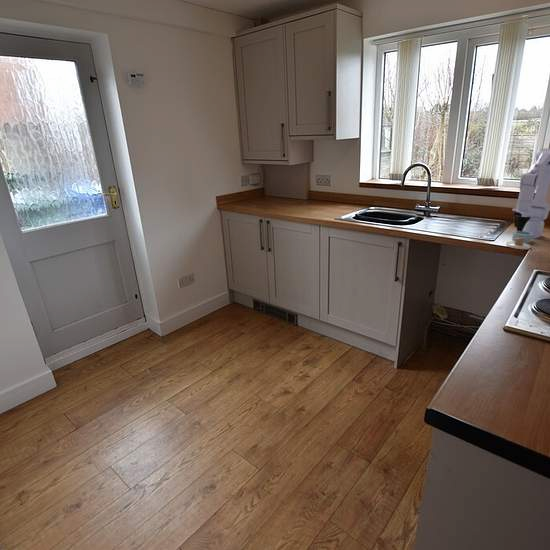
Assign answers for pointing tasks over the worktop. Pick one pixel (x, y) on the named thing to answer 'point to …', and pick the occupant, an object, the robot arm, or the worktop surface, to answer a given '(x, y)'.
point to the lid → (518, 244)
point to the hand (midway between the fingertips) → (518, 228)
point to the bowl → (523, 236)
